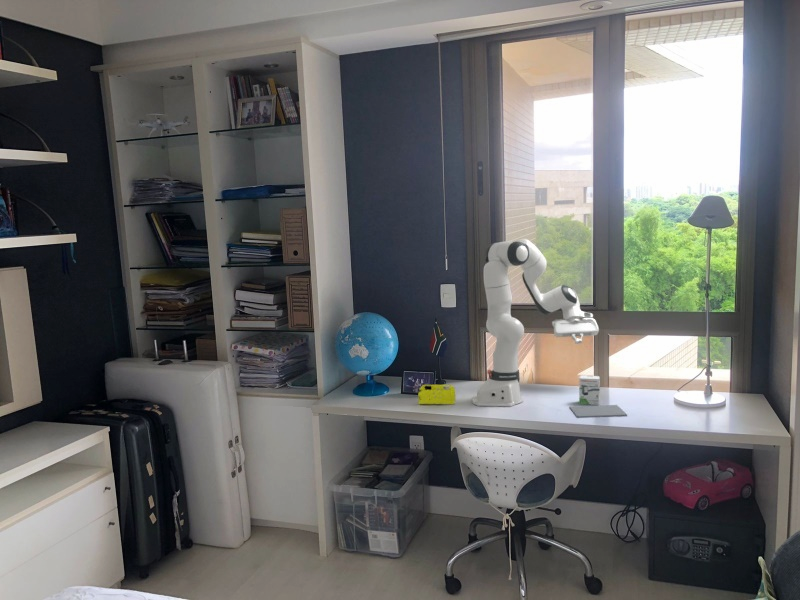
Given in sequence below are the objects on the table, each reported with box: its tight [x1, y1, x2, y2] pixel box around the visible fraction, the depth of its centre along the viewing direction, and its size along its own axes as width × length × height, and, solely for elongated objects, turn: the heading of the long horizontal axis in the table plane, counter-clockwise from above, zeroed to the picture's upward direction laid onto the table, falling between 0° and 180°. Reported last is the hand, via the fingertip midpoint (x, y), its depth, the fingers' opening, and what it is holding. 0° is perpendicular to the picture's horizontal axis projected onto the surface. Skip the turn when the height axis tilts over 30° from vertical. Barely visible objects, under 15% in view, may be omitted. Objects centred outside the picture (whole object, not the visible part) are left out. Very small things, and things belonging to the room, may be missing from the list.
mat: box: [569, 404, 628, 419], centre depth 267 cm, size 20×14×1 cm
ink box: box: [578, 375, 601, 406], centre depth 279 cm, size 9×5×12 cm, turn 71°
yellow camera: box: [417, 384, 456, 406], centre depth 290 cm, size 16×6×8 cm, turn 79°
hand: (578, 342), depth 295 cm, fingers closed
